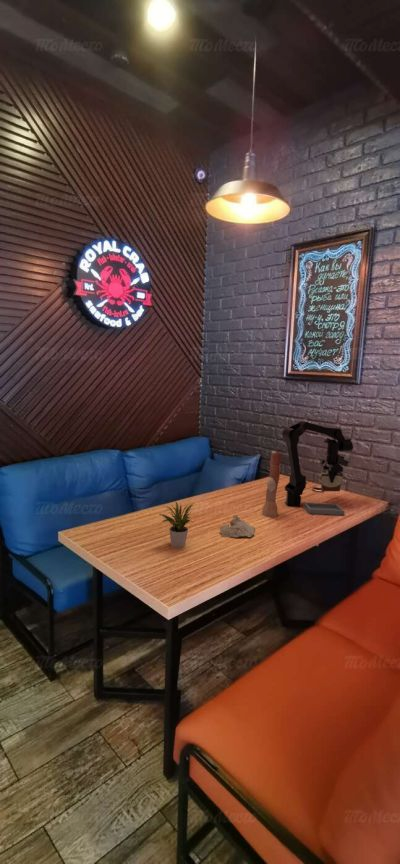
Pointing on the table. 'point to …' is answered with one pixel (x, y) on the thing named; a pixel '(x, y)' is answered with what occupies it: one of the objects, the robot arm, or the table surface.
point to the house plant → (178, 525)
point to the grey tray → (323, 509)
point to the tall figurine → (272, 486)
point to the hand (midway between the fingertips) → (329, 481)
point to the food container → (326, 483)
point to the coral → (237, 529)
